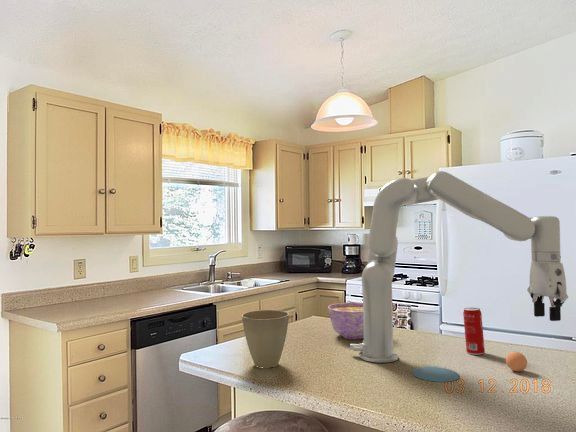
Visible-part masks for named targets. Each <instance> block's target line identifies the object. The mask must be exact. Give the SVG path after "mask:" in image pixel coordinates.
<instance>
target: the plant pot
mask: <svg viewBox="0 0 576 432" xmlns="http://www.w3.org/2000/svg"><path fill="white" fill-rule="evenodd" d="M289 318H290V313H289V312H288V311H284V310H278V309H260V310H251V311H247V312H244V313H242V314H241V319H242V326H243V332H244V337H245V340H246V343H247V348H248V350H249V353H250V356H251V359H252V361H253V364H254V366H255V367H256V366H258V367H263V368H262V369H270V368H269V367H273V368H275V366H276V367H277V366H279V363H280V360H281V357H282V354H283V350H284V348H285V342H286V338H287V333H288V332H287V331H288V326H289V320H290V319H289ZM258 367H257V368H258Z"/></svg>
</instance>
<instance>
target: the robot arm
mask: <svg viewBox="0 0 576 432" xmlns="http://www.w3.org/2000/svg"><path fill="white" fill-rule="evenodd" d="M438 200H440V201H442V202H443V203H445V204H447V205H449V206H451V207H452V208H453V209H456V210H457V211H459V213H460V212H461V213H462V214H464V215H466V216H467V217H469V218H472V219H475V220H477V221H481V222H483V223H484V224H487V225H489V226H490V227H493V228H494V229H496V230H498V231H500V233H502V234H503V235H504V237H506V238H507V239H509V240H511V241H515V242H516V241H517V242H527V241H528V240H530V242H531V247H530V248H531V262H530V267H529V268H530V269H529V286H528V287H527V292H528V294H529V296H530V297H531V300H532V303H533V315H534V317H536V318H538V317H545V315H546V314H545V313H546V311H545V310H546V308H545V307H546V306H545V302H544V300H545V299H544V298H545V297H548V299H549V303H550V306H549V309H548V310H549V312H548V313H549V321H550V322H558V321H561V320H562V318H561V317H562V315H561V308H562V307H563V305H564V303H565V301H567V300H568V299H569V295H568V294H567V279H566V275H565V273H566V272H565V268H564V265H563V263H562V262H561V257H562V256H561V223H560V222H561V221H560V218H559V217H557V216H552V215H549V216H548V215H544V216H543V215H540V216H534V217H529V216H527V215H526V214H523V213H522V212H520V211H518V210H516V209H514V208H513V207H511V206H510V205H507V204H505V203H503V202H501V201H500V200H498V199H496V198H494V197H492V196H491V195H489V194H487V193H485V192H483V191H482V190H480V189H479V188H476V187H474V186H472V185H471V184H469V183H467V182H465V181H464V180H462V179H460V178H458V177H456V176H455V175H453V174H451V173H449V172H447V171H442V170H438V171H436V172H434V173H432V174H431V175H429V176H425V177H421V178H415V179H411V178H408V177H400V178H397V179H394V180H391V181H389V182H387V183H386V184H385V185H384V186H383V187H381V188H380V190H379V191H378V192H377V194H376V197H375V199H374V202H373V207H372V214H371V219H370V226H369V232H368V233H369V235H368V238H367V247H368V257H367V264H366V265H365V267H364V268H363V270H362V273H361V287H362V288H361V289H362V290H361V291H362V303H363V329H364V338H363V340H362V343H361V342H360V343H358V344H357V343H350V344H349V349H350V350H353V352H359V353H358V356H359V358H360V359H361V360H363V361H366V362H371V363H377V364H378V363H379V364H381V363H392V362H395V361H397V360H398V359H399V354H398V353H397V352H396V351H394V317H393V315H394V313H393V312H394V311H393V280H394V279H393V278H394V276H395V271H396V270H395V268H396V261H397V260H396V259H397V254H398V253H397V252H398V243H399V241H398V237H397V227H398V221H399V214H400V211H401V208H402V207H403V206H412V205H418V204H422V203H428V202H434V201H438Z"/></svg>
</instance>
